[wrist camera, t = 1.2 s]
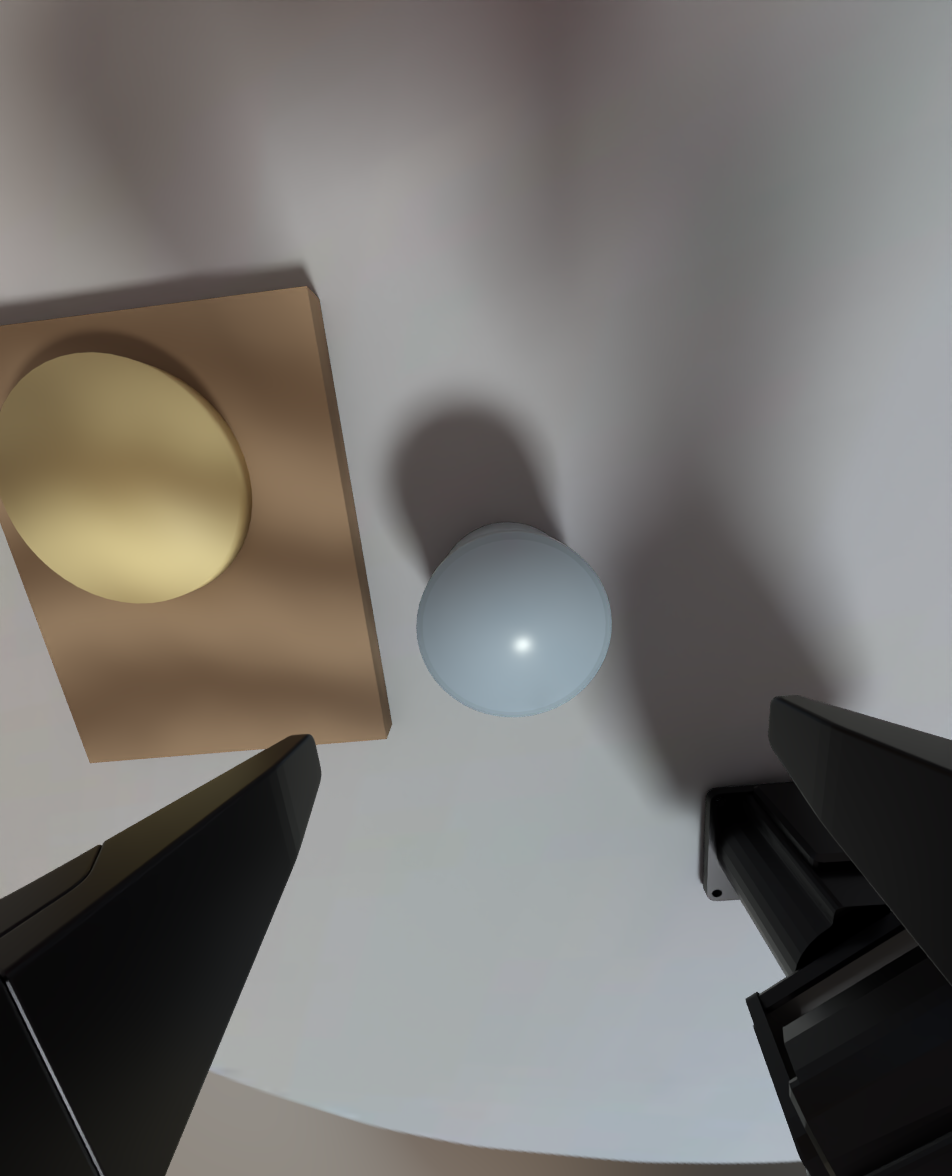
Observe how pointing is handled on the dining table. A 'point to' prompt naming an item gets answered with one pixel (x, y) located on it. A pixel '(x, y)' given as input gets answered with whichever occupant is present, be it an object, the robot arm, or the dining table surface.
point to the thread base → (190, 526)
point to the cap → (513, 621)
